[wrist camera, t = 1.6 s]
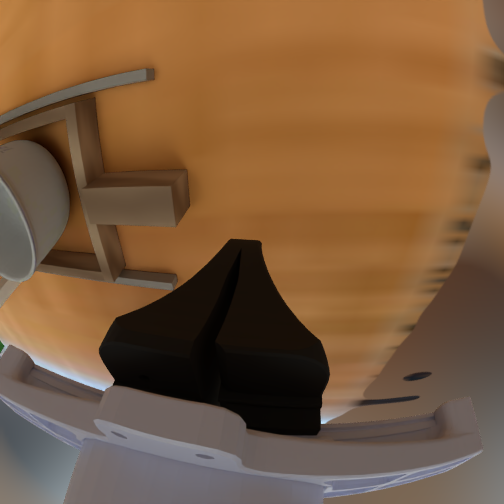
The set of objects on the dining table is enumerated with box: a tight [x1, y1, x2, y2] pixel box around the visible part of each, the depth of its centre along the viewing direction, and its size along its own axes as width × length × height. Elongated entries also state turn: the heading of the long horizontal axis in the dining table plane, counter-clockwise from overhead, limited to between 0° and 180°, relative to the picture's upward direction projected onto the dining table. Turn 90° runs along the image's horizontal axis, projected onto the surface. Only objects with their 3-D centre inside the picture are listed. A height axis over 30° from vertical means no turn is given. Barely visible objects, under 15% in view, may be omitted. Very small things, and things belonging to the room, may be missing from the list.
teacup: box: [0, 140, 70, 282], centre depth 17 cm, size 14×11×8 cm
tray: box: [0, 98, 190, 283], centre depth 19 cm, size 15×25×3 cm, turn 89°
